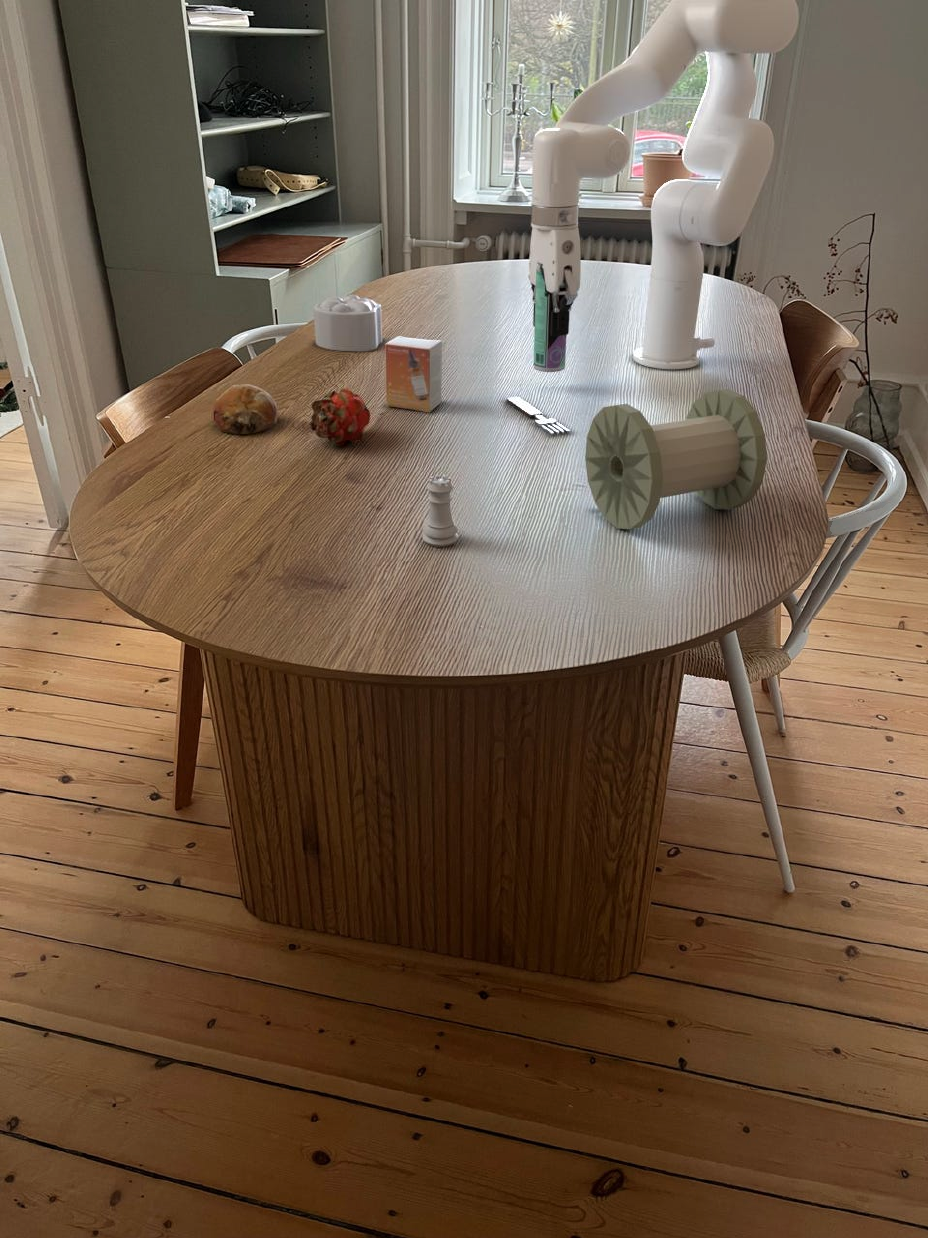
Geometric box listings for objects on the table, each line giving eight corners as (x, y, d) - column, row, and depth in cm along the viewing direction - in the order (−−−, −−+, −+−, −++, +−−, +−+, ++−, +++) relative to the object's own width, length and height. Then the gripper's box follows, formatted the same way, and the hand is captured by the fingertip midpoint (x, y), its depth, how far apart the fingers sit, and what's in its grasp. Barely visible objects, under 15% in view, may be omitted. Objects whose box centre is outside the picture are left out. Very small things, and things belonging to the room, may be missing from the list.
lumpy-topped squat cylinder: (372, 352, 183) (370, 306, 179) (308, 348, 185) (305, 303, 181) (385, 338, 192) (383, 294, 188) (324, 335, 194) (320, 291, 189)
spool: (643, 548, 113) (658, 429, 105) (581, 500, 125) (590, 390, 117) (754, 525, 119) (776, 411, 111) (685, 482, 130) (700, 375, 123)
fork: (503, 402, 159) (503, 398, 158) (520, 400, 160) (520, 396, 159) (551, 436, 145) (551, 431, 145) (569, 433, 146) (569, 428, 146)
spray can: (563, 372, 160) (568, 249, 150) (531, 371, 161) (534, 248, 151) (566, 363, 165) (572, 242, 154) (535, 361, 166) (539, 241, 155)
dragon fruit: (325, 466, 138) (348, 448, 149) (370, 435, 135) (390, 419, 146) (290, 416, 136) (316, 402, 147) (335, 384, 133) (358, 372, 144)
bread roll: (286, 442, 151) (292, 392, 150) (254, 436, 142) (260, 382, 141) (232, 435, 154) (238, 385, 153) (197, 428, 144) (203, 375, 143)
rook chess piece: (421, 532, 116) (420, 472, 112) (457, 531, 117) (457, 471, 112) (422, 548, 112) (421, 487, 108) (460, 547, 113) (460, 486, 109)
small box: (385, 407, 156) (383, 343, 151) (399, 396, 161) (397, 334, 155) (430, 413, 154) (429, 348, 148) (442, 402, 158) (442, 339, 153)
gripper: (602, 222, 145) (595, 340, 154) (550, 206, 158) (546, 315, 168) (559, 226, 142) (555, 346, 152) (510, 209, 155) (508, 320, 165)
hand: (550, 329), depth 160 cm, fingers closed on spray can, 5 cm apart
